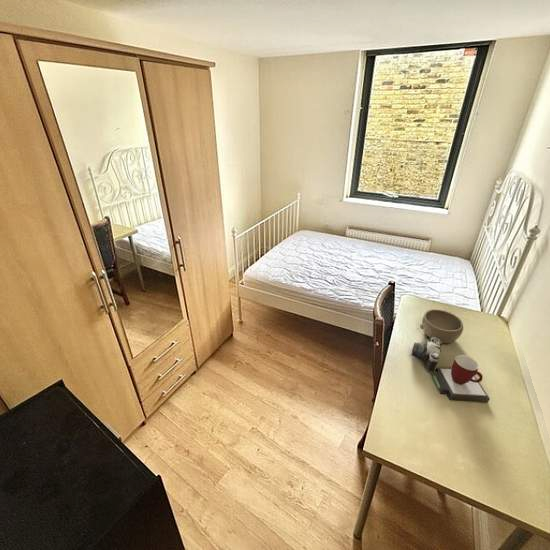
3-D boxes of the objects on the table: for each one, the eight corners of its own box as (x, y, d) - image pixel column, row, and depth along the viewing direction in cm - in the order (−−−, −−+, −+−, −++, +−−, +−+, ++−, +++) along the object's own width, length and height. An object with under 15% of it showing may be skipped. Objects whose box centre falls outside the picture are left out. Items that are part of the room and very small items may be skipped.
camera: (412, 344, 137) (417, 327, 133) (436, 351, 133) (443, 334, 129) (409, 366, 125) (415, 349, 120) (435, 375, 121) (442, 357, 116)
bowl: (413, 336, 142) (419, 320, 137) (424, 319, 154) (430, 304, 149) (452, 353, 132) (460, 336, 128) (461, 334, 144) (468, 318, 140)
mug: (475, 379, 116) (485, 361, 111) (478, 394, 110) (488, 376, 105) (446, 370, 120) (454, 352, 115) (446, 384, 113) (455, 366, 109)
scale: (487, 403, 110) (490, 397, 109) (442, 399, 111) (445, 394, 109) (468, 374, 122) (471, 368, 121) (428, 371, 123) (430, 366, 122)
